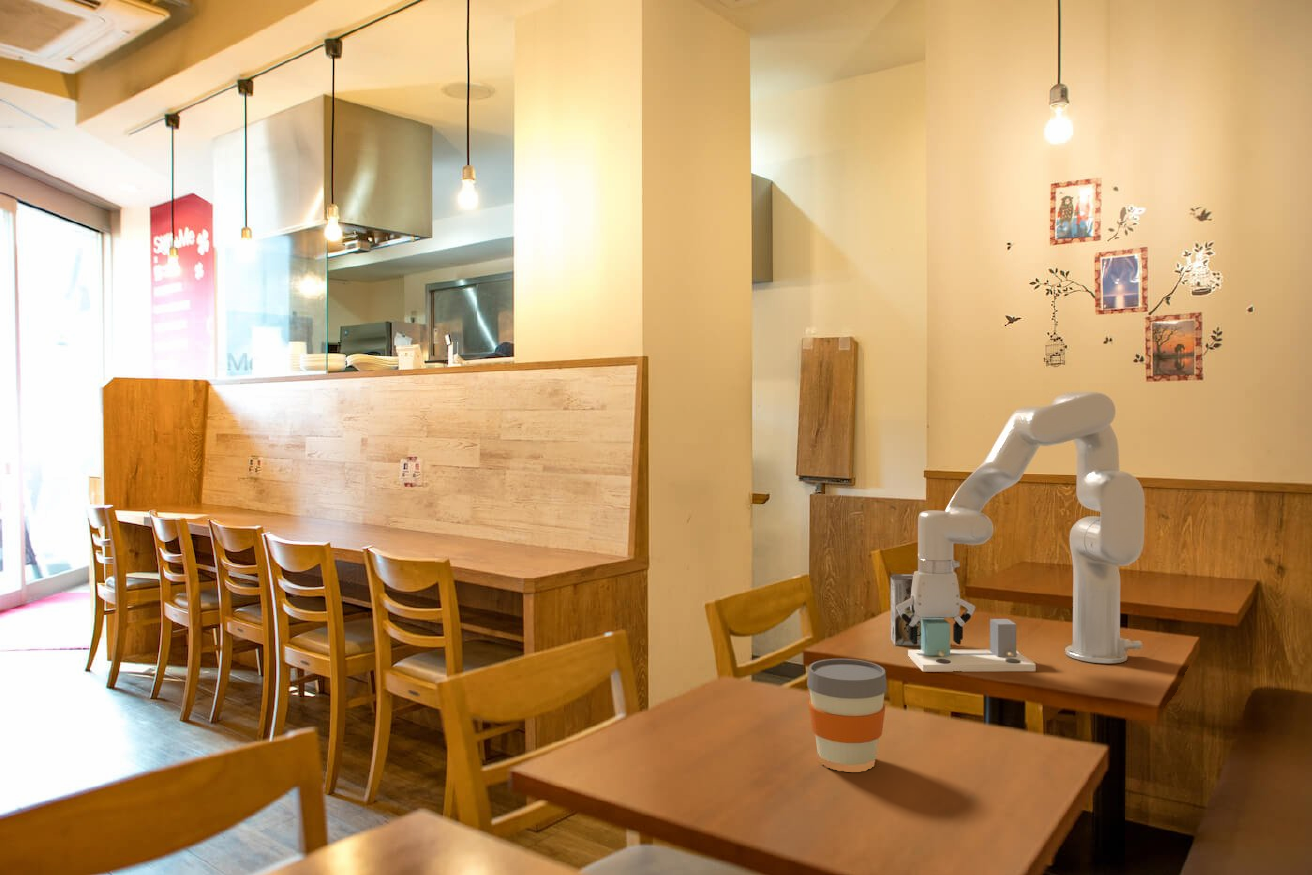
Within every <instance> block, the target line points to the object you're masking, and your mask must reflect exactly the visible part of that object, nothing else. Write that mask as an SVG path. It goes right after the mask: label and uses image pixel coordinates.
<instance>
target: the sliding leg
mask: <svg viewBox="0 0 1312 875" xmlns="http://www.w3.org/2000/svg"><path fill="white" fill-rule="evenodd" d="M920 650H922V651H923V652H924V653H925V654H927V655H940V656H941V657H944V655H950V650H951V623H950V622H949V621H947V620H946V618H921V646H920Z"/></svg>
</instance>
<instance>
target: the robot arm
mask: <svg viewBox="0 0 1312 875" xmlns="http://www.w3.org/2000/svg"><path fill="white" fill-rule="evenodd" d="M1116 412H1117V411H1116V406H1115V403H1114V401H1113V400H1112V399H1111V398H1110V396H1108V395H1107V394H1104V393H1102V392H1098V391H1083V392H1080V391H1076V392H1066V393H1062V394H1060V395H1057V396H1056V397H1055V398H1054V399H1053V401H1052V402H1051V404H1050V405H1046V406H1027V407H1020V408H1018V409H1016V410H1015V411H1014V412H1012V414H1011V415H1010V417H1009V418H1008V420H1007V421H1006V423H1005V425H1004V426H1003V428H1002V430H1001V432H999V435H998V436H997V438H996V440H995V442H994V444H993V445H992V447H991V449H990V450H989V452H988V454H987V455H986V457H985V459H984V460H983V462H982V463H981V464H980V465H979V466H978V467H977V468H976V469H975V470H974V471H972V473H971V474H970V475H969V476H968V477H967V478H966V479H965V480H964V481H963V482H962V483H961V484H960V485H959V487H957V490H956V491H955V493H954V494H953V496H952V498H951V499H950V501H949V503H948V504H947V506H946V508H945V510H939V509H938V510H937V509H936V510H933V509H932V510H929V509H928V510H923V511H921V512H919V515H918V517H917V570H915V571H914V572H913V574H914V575H913V580H912V588H911V598H909V599H908V600H906V601H904V602H902V603H900V604H898V605H897V606H896V609H897V610H898V612H899V614H900V616H901V618H902V619H903V620H904V621H906V622H907V623H908V638H909V640H911V642H912V643H913V644H914V645H913V646H915V645H916V644H917V627H916V623H917V622H918V621H919V620H920V618H944V619H952V620H953V621H954V623H953V624H952V633H953V634H952V640H953V642H954V643H955V644H957V645H961V644H962V640H963V638H964V637H963V636H964V629H963V628H964V626H966V623H967V622H969V621H970V619H971V617H972V615H973V613H974V612H975V609H976V605H973V604H972V603H969V602H968V601H966V600H964V599H962V598H961V596H960V587H959V580H958V575H957V573H956V572H955V569H956V568H960V566H961V564H960V563H961V562H960V561H959V560H955V559H954V544H960V545H961V544H962V545H969V546H978V545H982V544H985V543H987V542H988V541H989V540H990V539H991V537H993V534H994V524H993V522H992V520H991V518H989V516H988V515H986V514H985V513H983V512H982V510H983V509H984V507H985V505H987V504H988V502H989V501H990V500H991V499H992V498H994V496H996V495H998V494H999V493H1000V492H1002V491H1004V490H1006V489H1009V488H1011V487H1012V486H1014V485H1015V484H1017V483H1018V482H1019V481H1020V480H1021V478H1022V477H1023V475H1024V473H1025V472H1026V470H1027V468H1028V466H1029V464H1030V463H1031V461H1032V460H1033V457H1034V456H1035V455H1036V453H1037V451H1038V449H1039V448H1040V446H1041V447H1049V446H1056V445H1060V444H1064V443H1067V442H1070V441H1073V442H1074V445H1075V450H1076V490H1075V491H1076V498H1077V501H1078V502H1079V504H1080V505H1081V506H1083V507H1084V508H1086V509H1088V510H1092V511H1094V512H1100V513H1099V516H1096V515H1091V516H1090V515H1089V516H1085V517H1083V518H1080V519H1078V520H1076V522H1075V523H1074V524H1073V525H1072V528H1071V529H1070V532H1069V548H1070V553H1071V559H1072V560H1071V561H1072V571H1073V575H1072V576H1073V577H1072V578H1073V579H1072V580H1073V583H1072V584H1073V585H1072V586H1073V588H1072V591H1073V592H1072V601H1073V602H1072V607H1073V608H1072V644H1070V645H1068V646H1066V647H1065V649H1064V650H1065V652H1064V653H1065V655H1067V656H1068V657H1070V658H1072V659H1074V660H1078V661H1082V662H1086V663H1087V662H1088V663H1094V664H1095V663H1096V664H1108V665H1109V664H1110V665H1111V664H1121V663H1123V662H1126V661H1127V660H1128V653H1127V651H1129V650H1142V649H1143V643H1142V641H1141V640H1130V638H1129V639H1127V638H1124V637H1121V633H1120V632H1121V628H1120V627H1121V575H1120V569H1119V567H1123V566H1129V565H1131V564H1133V563H1135V562H1136V561H1137V560H1138V559H1139V558H1140V556H1141V554H1142V551H1143V548H1144V543H1145V518H1146V517H1145V516H1146V515H1145V514H1146V509H1145V508H1146V497H1145V492H1144V489H1143V486H1142V485H1141V482H1140V481H1139V480H1138V479H1137V477H1135V476H1134V475H1133V474H1131V473H1129V472H1126V471H1121V470H1120V457H1119V456H1120V454H1119V453H1120V452H1119V442H1118V439H1117V436H1116V433H1115V431H1114V429H1113V427H1112V426H1111V424H1112V422H1113V421H1114V420H1115V417H1116ZM909 606H910V610H911V612H912V614H911V615H910V616H909V617H908V616H907V615H906V613H905V609H906V608H907V607H909ZM961 606H962V607H964V608H965V611H964V612H963V613H962V615H961ZM960 615H961V616H960Z"/></svg>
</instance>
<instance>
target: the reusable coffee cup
mask: <svg viewBox="0 0 1312 875" xmlns="http://www.w3.org/2000/svg"><path fill="white" fill-rule="evenodd" d="M806 679H807V681H806V686H807V688H808V689H809V696H810V699H809V700H808V707H809V708H808V709H809V715H810V716H809V717H810V723H811V731H812V732H813V734H814V736H815V742H816V749H817V750H816V752H817V755H818V754H819V756H820V757H821V758H823V759H825V760H827V761H831V762H835V763H840V764H846V765H858V764H866V763H868V762H871V761H874V760H875V759H876V760H877V754H878V748H879V747H878V746H879V739H880V737H882V735H883V728H884V722H885V721H884V720H885V714H886V713H885V712H886V704H885V703H884V701H885V700H884V699H885V693H887V690H888V686H887V683H888V682H887V675H886V669H885V668H884V667H882V666H881V665H879V664H877V663H874V662H870V661H866V660H860V659H855V658H853V659H852V658H830V659H829V658H827V659H822V660H817V661H814V662H812V663H810V664H809V665H808V671H807V678H806Z"/></svg>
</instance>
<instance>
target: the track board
mask: <svg viewBox="0 0 1312 875" xmlns="http://www.w3.org/2000/svg"><path fill="white" fill-rule="evenodd" d="M908 656H909V657H910V658H909V657H908ZM907 657H908V658H909V659H910V660H911V661H912V662H913V664H915V665H916V666H917V667H918V668H919V669H920V670H921V671H922V672H923V673H924V672H925V673H926V672H927V673H928V672H930V673H931V672H933V673H935V672H936V673H937V672H939V673H940V672H941V673H942V672H945V673H946V672H953V671H962V672H1036V668H1037V667H1036V665H1037V664H1036V662H1035V663H1034V662H1033V661H1032V660H1031V659H1029V658H1028V657H1026V656H1024V655H1023V654H1021V653H1020V652H1019V651H1018V650H1017V624H1016V623H1015V622H1014V621H1012V620H1011V619H1009V618H990V619H989V648H987V649H986V648H985V649H981V648H980V649H978V648H977V649H973V648H970V649H965V648H964V649H950V655H944V657H941V656H940V655H927V654H925V653H924V652H923V651H922V650H921V649H907Z"/></svg>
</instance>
